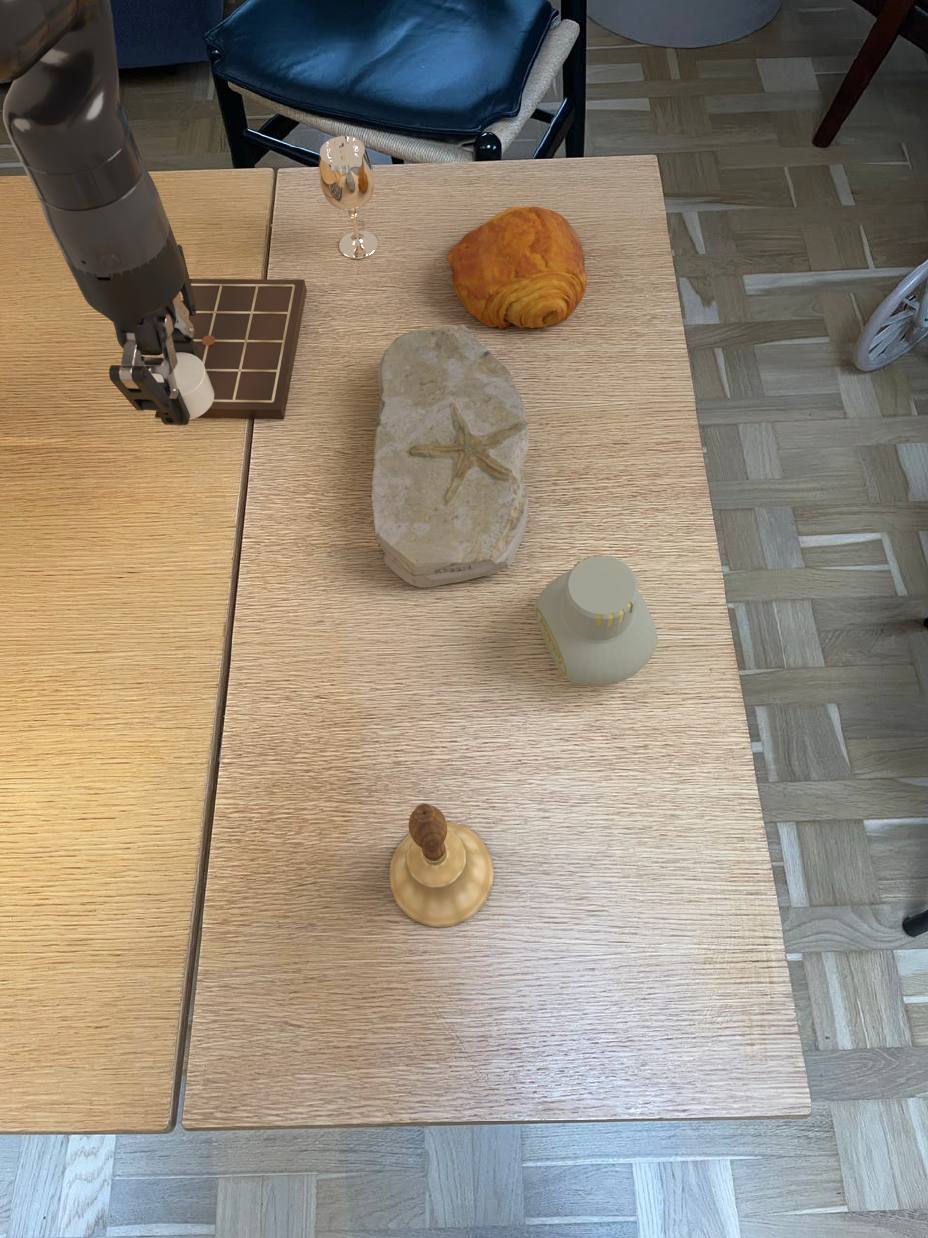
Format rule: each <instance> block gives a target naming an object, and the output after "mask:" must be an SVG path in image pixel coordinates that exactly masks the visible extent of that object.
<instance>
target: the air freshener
mask: <svg viewBox="0 0 928 1238" xmlns="http://www.w3.org/2000/svg"><path fill="white" fill-rule="evenodd" d="M533 610H534V611H533V612H534V615H535V619H536V622H537V625H538V628H539V631H540V633H541V636H542V638H543V641H544V643H545V646H546V648H547V650H548V653H549V654H550V656H551V658H552V660H553V663H554V664H555V666H556V668H557V670H558V671H559V673H560V674H561V675H562V677H563V678H565V679H566V680H568V681H570V682H573V683H575V684H579V685H583V686H593V687H603V686H609V685H615V684H618V683H621V682H623V681H626V680H628V679H630V678H632V677H633V676H634V675H636V674H637V673H638V672H640V671H641V670H642V669H643V668H644V667H645V666H646V665H647V664H648V662H649V661H650V660H651V658H652V657H653V655H654V654H655V651H656V649H657V647H658V644H659V637H658V632H657V628H656V625H655V623H654V619H653V617H652V615H651V614H652V613H651V612H650V610H649V608H648V606H647V602H646V601H645V599H644V597H643V595H642V594H641V592H640V591H639V582H638V578H637V576H636V574H635V572H634V571H633V570H632V568H630V566H629V565H628V564H626V563H625V562H624V561H622V560H620V559H619V558H616V557H613V556H610V555H601V554H599V555H598V554H597V555H593V556H588V557H585V558H583V559H582V560H580V561H577V562H576V563H574V564H573V567H571V568H570V569H569V570H568V571H566V572H564V573H562V574H560V575H558V576H556V578H554V579H553V580H552V581H550V582H549V583H548V584H547V585H546V586H545V588H543V590H541V592H540V594H539V596H538V597H537V599H536V601H535V603H534V606H533Z"/></svg>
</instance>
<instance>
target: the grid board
mask: <svg viewBox="0 0 928 1238" xmlns="http://www.w3.org/2000/svg"><path fill="white" fill-rule="evenodd" d="M190 282H191V287H192V291H193V295H194V299H195V304H196V307H197V310H196V315H195V316H190V318H189V320H190V321H191V323H192V324H193V327H194V336H193V340H194V343H195V345H196V348H197V351H198V353H199V356H200V358H201V361H202V362H203V364H204V366H205V369H206V371H207V374H208V377H209V379H210V382H211V384H212V387H213V390H214V400H213V403H212V405H211V406H210V408H209V409H208V410H207V411H206V412H205V413H204V414H202V415H201V416H199V417H197V418H196V419H231V420H232V419H233V420H234V419H235V420H236V419H237V420H238V419H239V420H285V418H286V417H285V415H286V411H287V405H288V399H289V393H290V387H291V383H292V375H293V370H294V365H295V359H296V355H297V348H298V343H299V337H300V330H301V326H302V319H303V314H304V308H305V302H306V296H307V291H308V288H307V286H306V281H305V279H287V278H286V279H285V278H284V279H278V278H277V279H275V278H273V279H271V278H270V279H268V278H267V279H266V278H262V279H261V278H190ZM154 418H160V416H159V414H158V412H157V411H155V415H154Z"/></svg>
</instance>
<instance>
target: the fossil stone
mask: <svg viewBox="0 0 928 1238" xmlns="http://www.w3.org/2000/svg"><path fill="white" fill-rule="evenodd" d="M377 368H378V369H377V380H378V381H377V382H378V392H379V393H378V395H379V396H378V399H379V404H378V405H379V409H378V416H377V421H376V425H377V428H376V432H375V436H374V440H373V467H372V468H373V471H372V472H373V473H372V482H371V492H370V494H371V503H372V515H373V524H374V526H373V527H374V535H375V541H376V542H377V545H378V547H379V549H380V550H381V551H382V554H383V562H384V564H385V565H386V567H388V568H389V569H390V570H391V571H392V572H394V574H396V576H398V577H400V579H402V580H403V581H405V582H406V583H408V584H409V585H411V586H414V587H417V588H420V589H421V588H432V587H433V588H434V587H438V586H443V585H448V584H457V583H462V582H466V581H470V580H473V579H478V578H482V577H486V576H490V575H495V574H497V573H499V572H502V571H504V570H506V569H509V568H510V567H511V565H512V564H513V562H514V560H515V557H516V554H517V552H518V550H519V548H520V546H521V543H522V540H523V537H524V535H525V532H526V528H527V526H528V517H529V513H530V501H529V497H528V492H527V487H526V485H525V478H524V477H525V472H524V471H525V462H526V459H527V453H528V451H529V448H530V447H529V443H530V441H529V440H530V439H529V435H530V434H529V423H528V421H527V414H526V412H527V411H526V410H527V409H526V407H525V405H524V403H523V400H522V397H521V394H520V392H519V390H518V388H517V386H516V384H515V383H514V381H513V377H512V375H511V372H510V369H509V368H508V367H507V365H506V364H505V363H504V362H502V361H501V360H500V359H499V358H498V357H497V356H495V355H494V353H492V352H491V351H490V350H489V349H488V348H487V347H486V346H485V345H484V344H483V343H481V341H479V340H477V339H476V338H475V336H474V335H473V334H472V332H470V330H469V329H468V328H467V327H466V326H465V325H464V324H463V323H460V324H457V325H448V326H442V327H437V328H428V329H427V328H426V329H415V330H411V331H408V332H405V333H403V334H402V335H399V336H398V337H397V338H395V339H394V340H393V341H392V342H391V343H390V345H389V346H388V347H387V348H386V350H385V352H384V353H383V355H382V357H381V359H380V361H379V363H378V367H377Z"/></svg>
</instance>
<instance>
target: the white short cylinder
mask: <svg viewBox="0 0 928 1238" xmlns="http://www.w3.org/2000/svg"><path fill="white" fill-rule="evenodd" d="M176 356H177V361H178V364H177V366H176V368H175V369H174V375H175V379H176V384H177V388H178V389H179V391H180V393H181V395H182V398H183V400H184V402H185V405H186V407H187V409H188V412H189V414H190V419H189V421H190V420H194V419H198V418H197V417H199V416H201V415H202V414H204V413H205V412H206V411H207V410H208V409H209V408H210V406H211V405H212V403H213V400H214V390H213V387H212V384H211V382H210V379H209V377H208V374H207V371H206V369H205V366H204V364H203V362H202V361H201V360H200V359H199V358H198V357H196V356H195V355H192V354H189V353H184V352H177V353H176ZM160 358H164V356H161V357H160ZM152 375H153V377H154V378H155V379H156V381H157V382H164V380H163V377H162V375H160V374H152Z"/></svg>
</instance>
